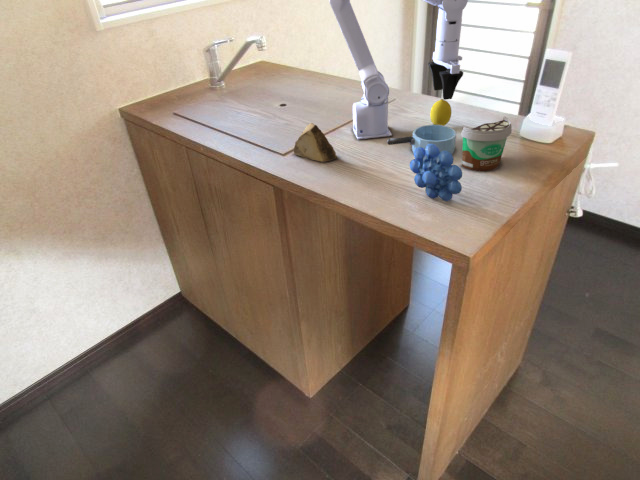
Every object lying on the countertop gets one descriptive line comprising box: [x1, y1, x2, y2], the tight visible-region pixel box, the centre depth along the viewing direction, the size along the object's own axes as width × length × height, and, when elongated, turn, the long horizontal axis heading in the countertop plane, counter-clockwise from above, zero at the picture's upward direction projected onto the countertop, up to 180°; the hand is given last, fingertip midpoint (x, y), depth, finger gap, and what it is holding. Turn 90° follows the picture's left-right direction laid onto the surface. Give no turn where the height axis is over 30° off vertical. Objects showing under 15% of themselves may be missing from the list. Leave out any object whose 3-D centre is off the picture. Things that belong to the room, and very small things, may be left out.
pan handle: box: [386, 136, 415, 146], centre depth 111 cm, size 7×2×2 cm, turn 96°
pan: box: [411, 124, 457, 155], centre depth 112 cm, size 10×10×4 cm
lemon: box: [429, 98, 452, 126], centre depth 121 cm, size 6×6×8 cm
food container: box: [460, 116, 513, 172], centre depth 101 cm, size 12×6×10 cm, turn 114°
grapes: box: [408, 143, 463, 202], centre depth 90 cm, size 12×7×12 cm, turn 52°
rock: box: [293, 122, 338, 163], centre depth 113 cm, size 11×9×10 cm
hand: (442, 94), depth 118 cm, fingers open, 7 cm apart
